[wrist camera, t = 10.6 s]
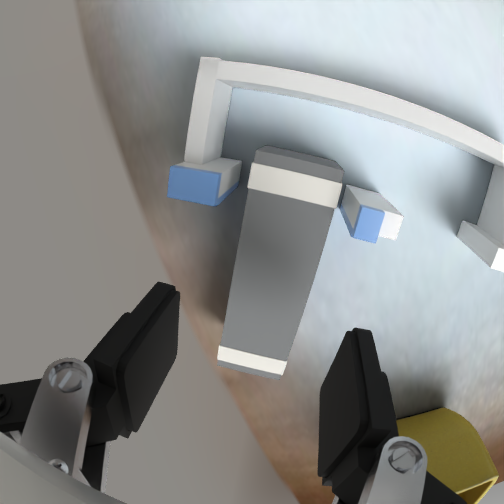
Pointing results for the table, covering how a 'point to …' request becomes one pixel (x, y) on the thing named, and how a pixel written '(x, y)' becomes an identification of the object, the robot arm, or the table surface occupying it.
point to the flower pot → (452, 452)
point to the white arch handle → (355, 199)
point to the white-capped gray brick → (277, 257)
